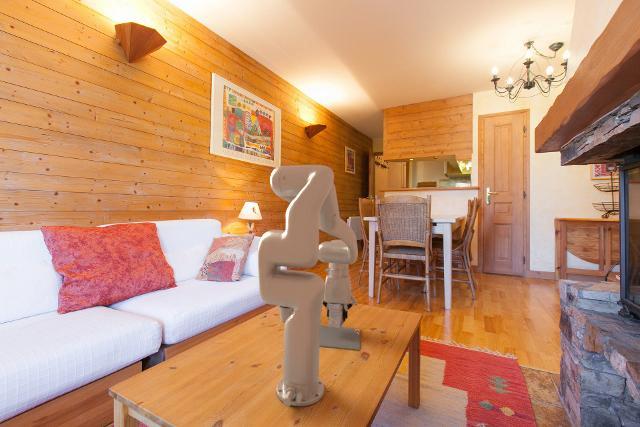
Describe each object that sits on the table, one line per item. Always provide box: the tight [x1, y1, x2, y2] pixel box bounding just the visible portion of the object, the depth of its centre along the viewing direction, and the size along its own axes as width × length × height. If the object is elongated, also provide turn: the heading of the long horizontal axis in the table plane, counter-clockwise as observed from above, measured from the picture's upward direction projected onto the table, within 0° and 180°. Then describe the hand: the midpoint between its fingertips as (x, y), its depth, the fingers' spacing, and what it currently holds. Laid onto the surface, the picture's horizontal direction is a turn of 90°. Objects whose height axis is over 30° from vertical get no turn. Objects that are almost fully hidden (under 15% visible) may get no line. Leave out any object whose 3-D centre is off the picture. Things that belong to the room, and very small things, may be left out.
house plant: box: [278, 306, 294, 323], centre depth 125 cm, size 14×14×16 cm
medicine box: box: [328, 303, 345, 328], centre depth 112 cm, size 8×4×9 cm, turn 161°
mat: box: [320, 324, 361, 351], centre depth 112 cm, size 18×22×1 cm
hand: (337, 319), depth 112 cm, fingers closed on medicine box, 5 cm apart
